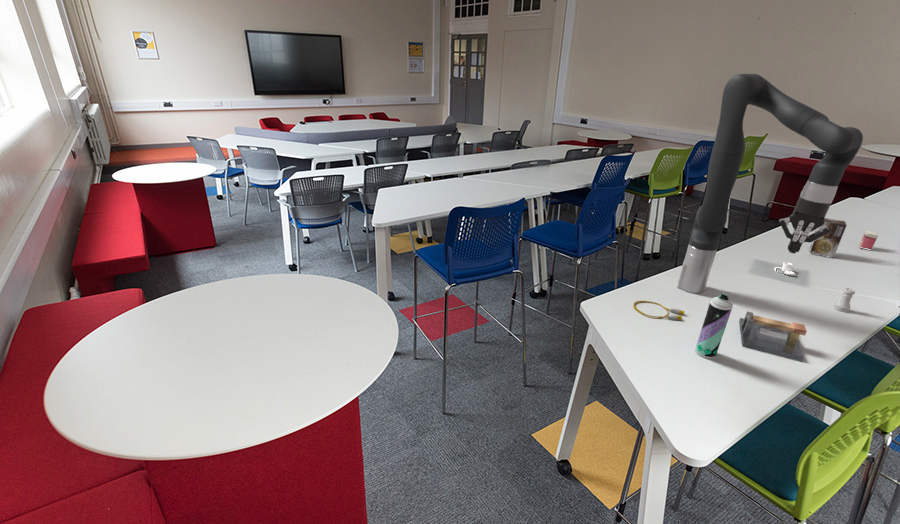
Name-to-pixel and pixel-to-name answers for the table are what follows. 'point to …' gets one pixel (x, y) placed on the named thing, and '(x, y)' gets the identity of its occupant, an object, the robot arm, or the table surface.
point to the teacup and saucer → (786, 268)
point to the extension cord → (672, 317)
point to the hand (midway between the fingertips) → (791, 252)
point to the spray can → (714, 326)
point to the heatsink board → (770, 345)
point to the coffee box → (828, 238)
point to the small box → (868, 239)
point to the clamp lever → (778, 324)
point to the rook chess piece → (845, 300)
